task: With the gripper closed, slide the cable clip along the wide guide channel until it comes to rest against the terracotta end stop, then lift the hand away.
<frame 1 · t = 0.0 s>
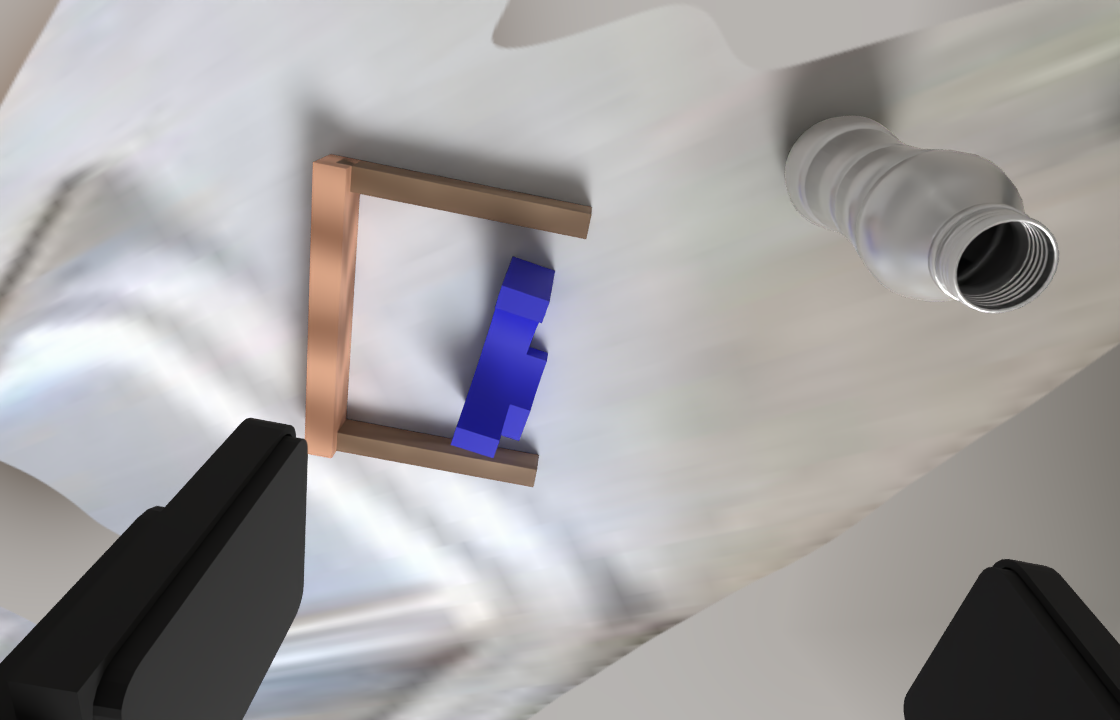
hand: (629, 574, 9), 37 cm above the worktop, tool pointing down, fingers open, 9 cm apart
plastic bottle: (829, 166, 42), on the worktop
guide channel: (450, 330, 48), on the worktop
cable clip: (518, 341, 49), on the worktop
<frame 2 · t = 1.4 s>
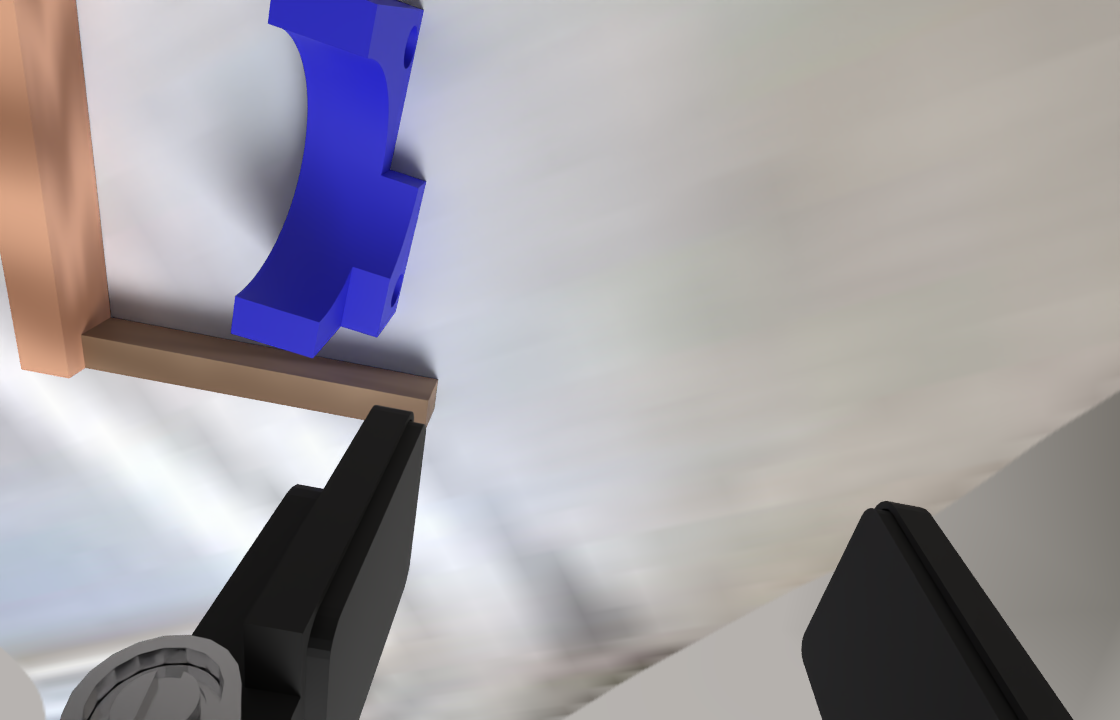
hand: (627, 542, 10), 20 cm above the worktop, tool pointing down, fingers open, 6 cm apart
guide channel: (264, 146, 27), on the worktop
cable clip: (374, 161, 28), on the worktop
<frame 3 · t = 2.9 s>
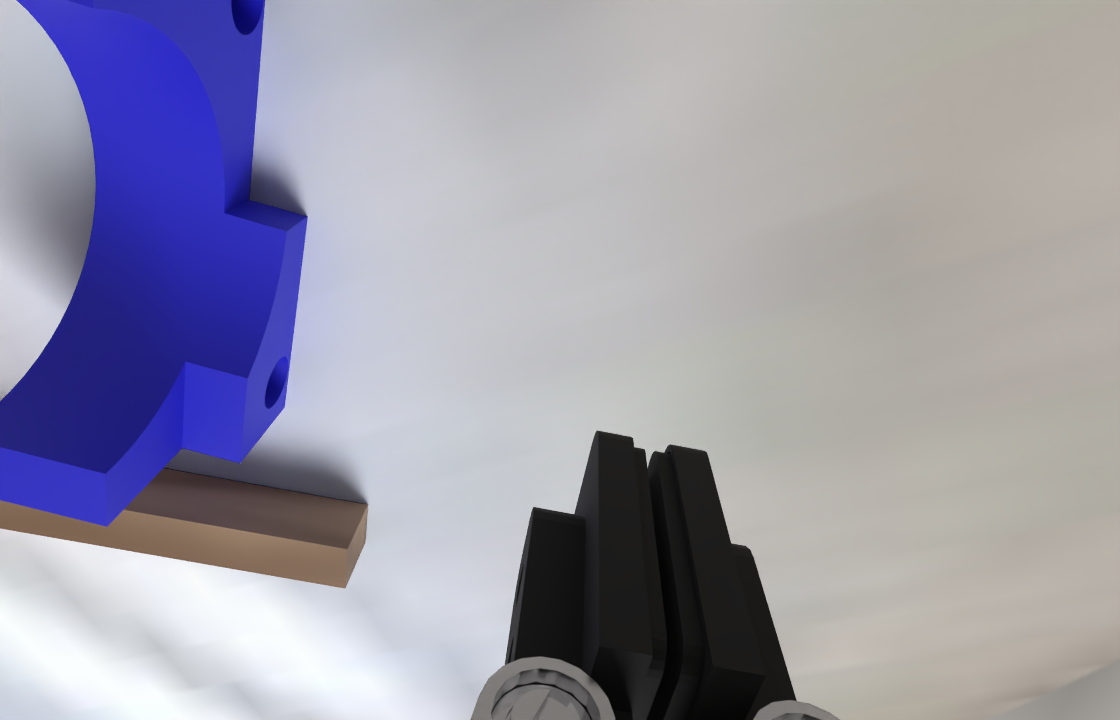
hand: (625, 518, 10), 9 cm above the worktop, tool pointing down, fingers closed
guide channel: (73, 173, 17), on the worktop
cable clip: (227, 187, 18), on the worktop
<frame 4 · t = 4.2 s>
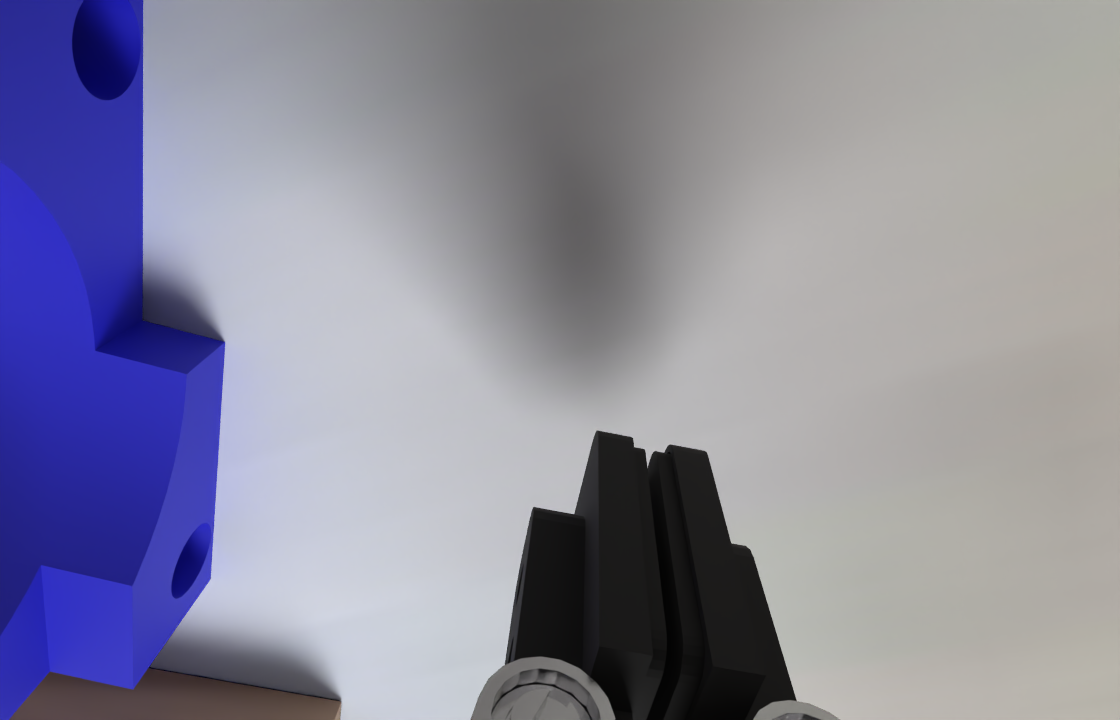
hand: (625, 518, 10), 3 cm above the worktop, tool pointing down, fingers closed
cable clip: (114, 301, 13), on the worktop
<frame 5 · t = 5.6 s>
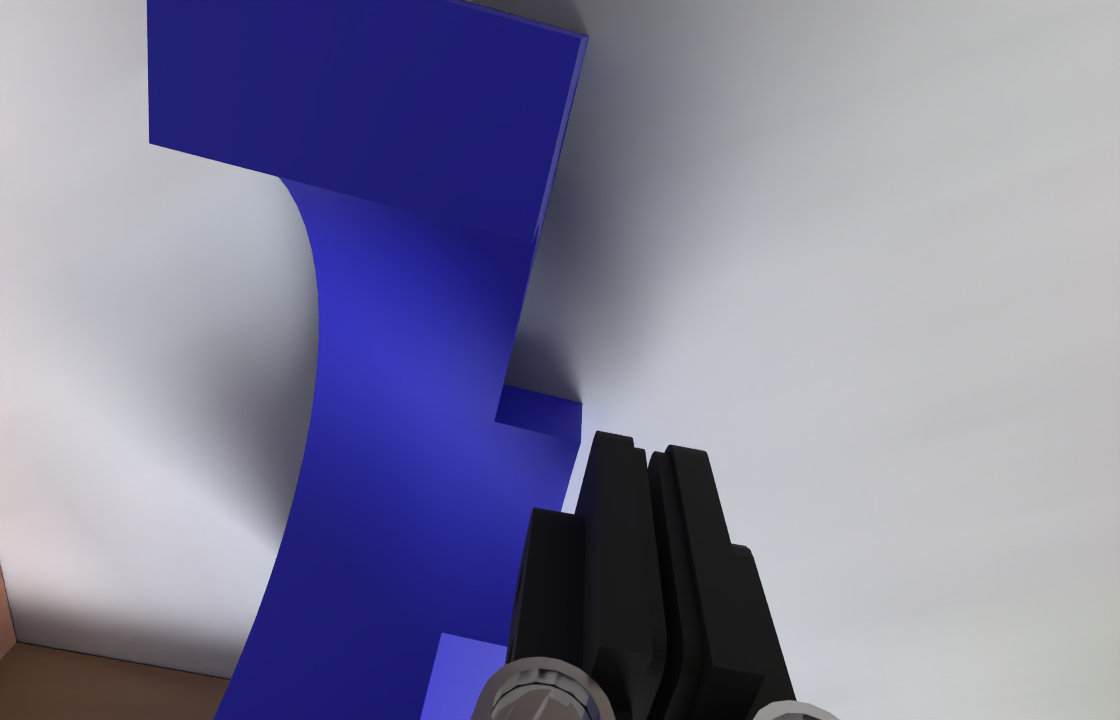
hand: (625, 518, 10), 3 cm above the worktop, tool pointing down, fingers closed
guide channel: (326, 370, 13), on the worktop
cable clip: (467, 366, 13), on the worktop, touching gripper
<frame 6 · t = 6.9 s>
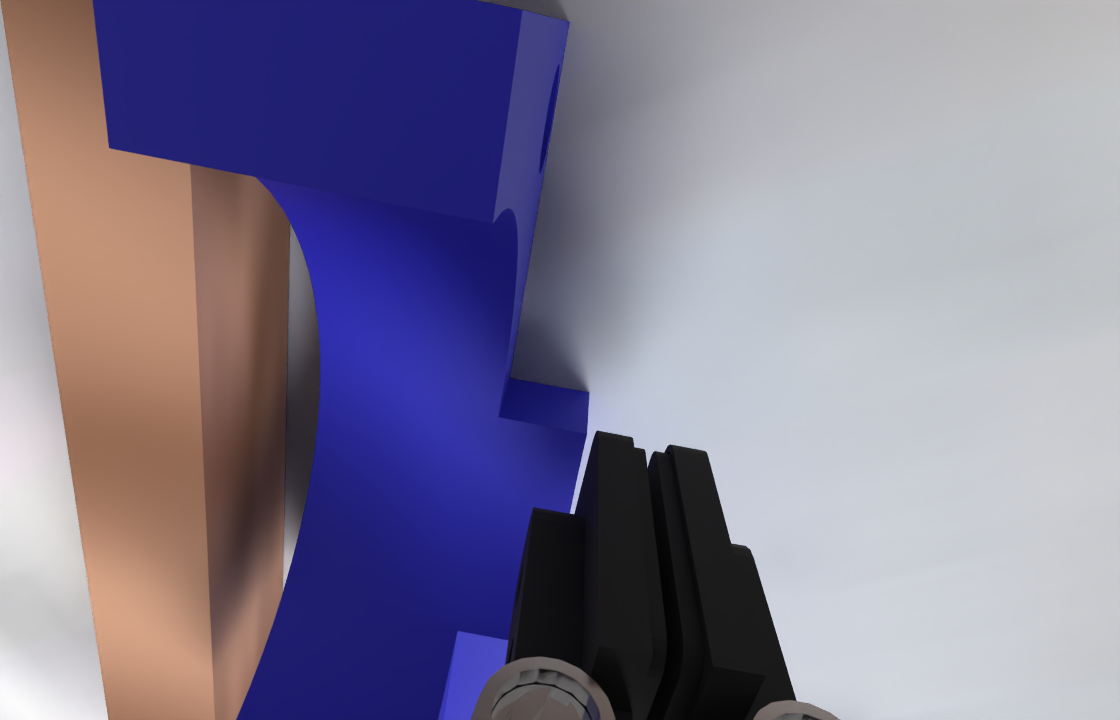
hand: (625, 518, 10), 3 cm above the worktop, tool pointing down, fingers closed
guide channel: (655, 430, 13), on the worktop
cable clip: (472, 363, 13), on the worktop
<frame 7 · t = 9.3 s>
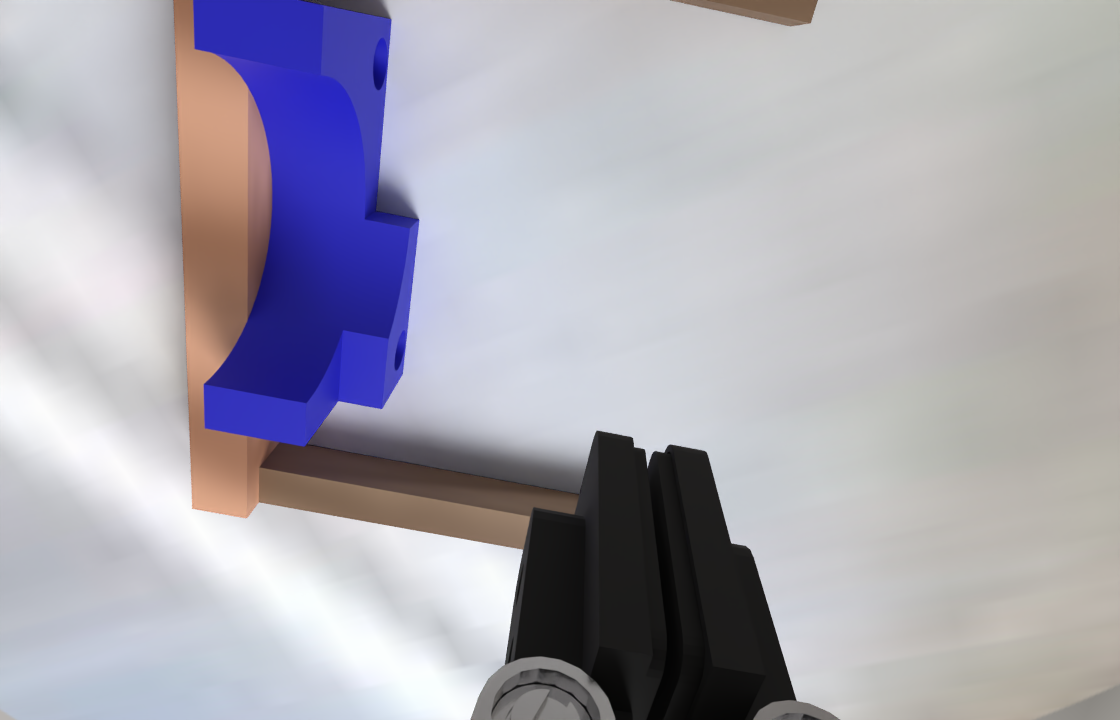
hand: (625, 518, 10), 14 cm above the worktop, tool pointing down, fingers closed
guide channel: (486, 259, 24), on the worktop
cable clip: (357, 204, 24), on the worktop, touching guide channel
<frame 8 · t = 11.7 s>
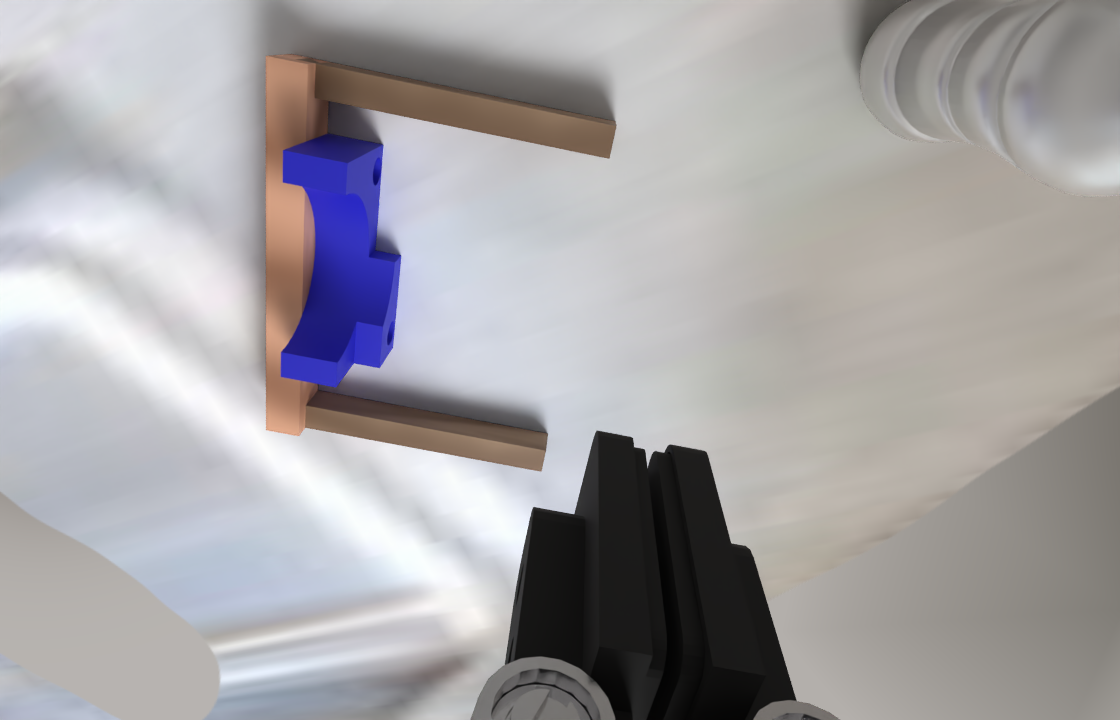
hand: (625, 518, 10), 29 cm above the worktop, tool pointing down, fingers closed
plastic bottle: (913, 66, 34), on the worktop
guide channel: (441, 280, 40), on the worktop
cable clip: (364, 246, 40), on the worktop
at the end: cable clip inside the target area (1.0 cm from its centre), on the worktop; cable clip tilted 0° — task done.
